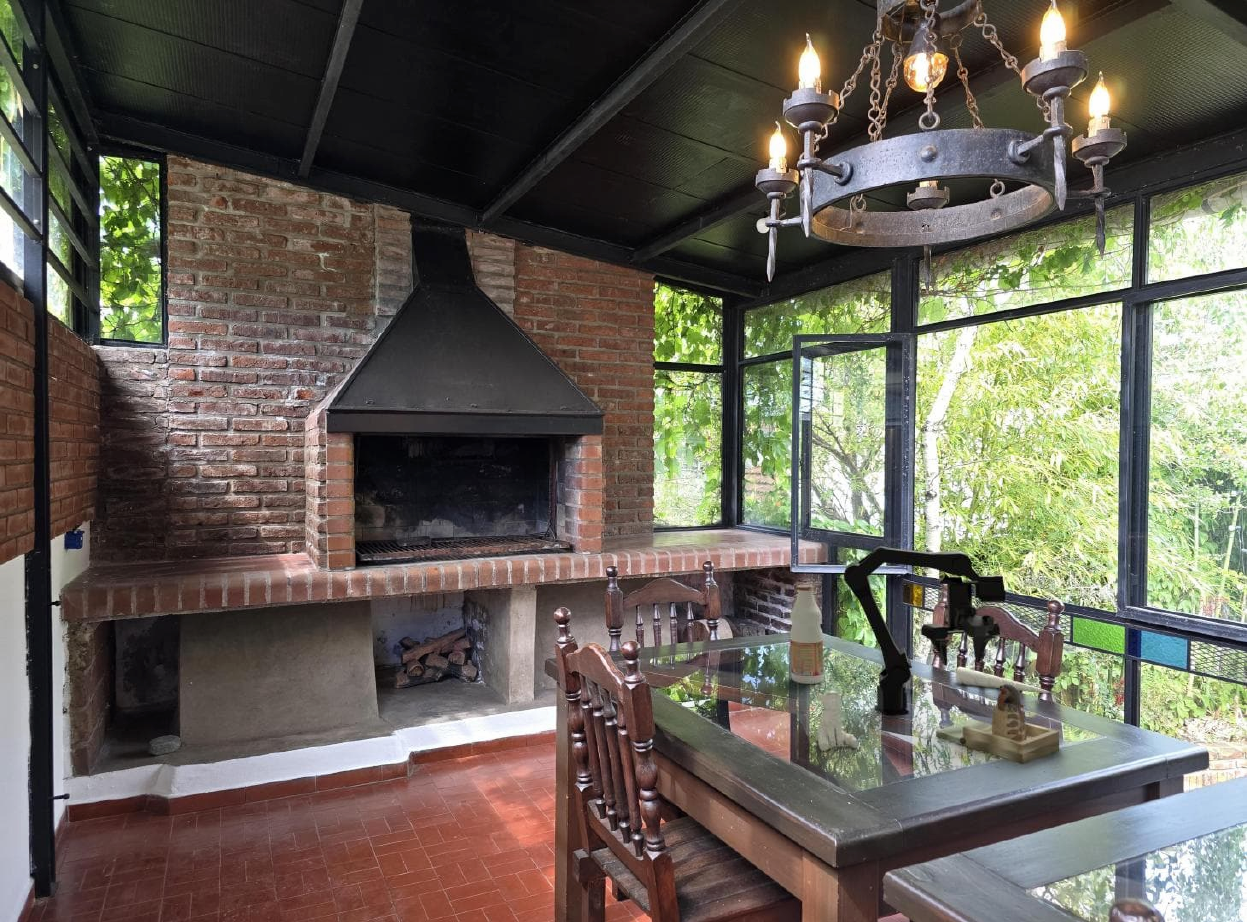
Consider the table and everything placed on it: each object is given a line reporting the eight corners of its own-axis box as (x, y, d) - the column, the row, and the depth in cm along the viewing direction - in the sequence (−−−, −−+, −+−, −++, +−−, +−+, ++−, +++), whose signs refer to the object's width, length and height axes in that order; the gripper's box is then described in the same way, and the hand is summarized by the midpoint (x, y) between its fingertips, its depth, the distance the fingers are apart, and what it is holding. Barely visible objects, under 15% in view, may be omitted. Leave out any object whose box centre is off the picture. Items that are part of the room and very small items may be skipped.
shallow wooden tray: (935, 736, 182) (935, 719, 182) (972, 724, 190) (972, 707, 190) (1022, 764, 164) (1022, 745, 164) (1059, 749, 172) (1059, 731, 172)
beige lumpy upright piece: (821, 752, 174) (819, 698, 174) (804, 739, 183) (803, 687, 183) (860, 748, 176) (858, 695, 176) (842, 735, 184) (840, 684, 184)
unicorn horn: (1047, 698, 210) (1047, 680, 210) (954, 685, 224) (953, 668, 224) (1050, 693, 213) (1050, 675, 213) (958, 681, 228) (957, 664, 228)
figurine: (1035, 740, 172) (1033, 686, 172) (1010, 745, 170) (1008, 690, 170) (1008, 730, 179) (1007, 678, 179) (984, 735, 176) (983, 682, 176)
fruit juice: (799, 685, 226) (797, 589, 226) (786, 677, 235) (783, 584, 235) (829, 683, 228) (827, 587, 228) (815, 674, 237) (812, 582, 237)
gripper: (944, 609, 187) (946, 674, 187) (1014, 605, 190) (1016, 669, 190) (919, 601, 198) (920, 663, 198) (985, 597, 201) (986, 658, 201)
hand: (961, 663), depth 196 cm, fingers open, 9 cm apart
